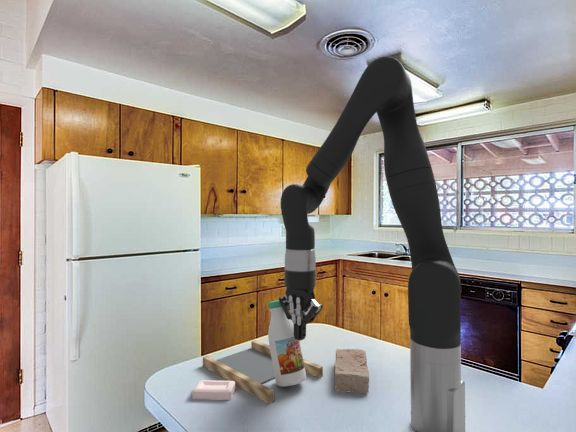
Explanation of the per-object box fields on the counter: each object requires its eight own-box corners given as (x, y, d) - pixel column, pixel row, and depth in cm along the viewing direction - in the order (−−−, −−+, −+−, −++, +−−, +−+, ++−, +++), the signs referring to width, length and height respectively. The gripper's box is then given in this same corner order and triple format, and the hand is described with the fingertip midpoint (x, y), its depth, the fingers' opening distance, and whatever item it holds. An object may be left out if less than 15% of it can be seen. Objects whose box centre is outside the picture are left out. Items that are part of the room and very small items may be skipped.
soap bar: (230, 401, 79) (230, 390, 79) (191, 400, 79) (191, 390, 79) (235, 389, 84) (235, 379, 84) (199, 388, 84) (199, 379, 84)
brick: (370, 395, 81) (369, 375, 81) (334, 392, 82) (334, 372, 82) (365, 365, 97) (365, 349, 97) (335, 363, 99) (335, 347, 99)
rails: (322, 376, 90) (322, 366, 90) (268, 403, 77) (268, 392, 77) (255, 347, 110) (255, 340, 110) (202, 365, 97) (202, 357, 97)
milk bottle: (271, 388, 82) (257, 304, 86) (282, 378, 90) (268, 301, 93) (301, 385, 80) (285, 299, 84) (310, 375, 87) (295, 296, 91)
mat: (295, 368, 94) (295, 367, 94) (252, 388, 84) (252, 386, 84) (250, 349, 109) (250, 348, 109) (208, 363, 98) (208, 362, 98)
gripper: (331, 269, 81) (330, 342, 81) (291, 263, 90) (291, 329, 90) (310, 272, 75) (309, 351, 75) (270, 266, 85) (269, 336, 85)
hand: (299, 339), depth 83 cm, fingers closed
